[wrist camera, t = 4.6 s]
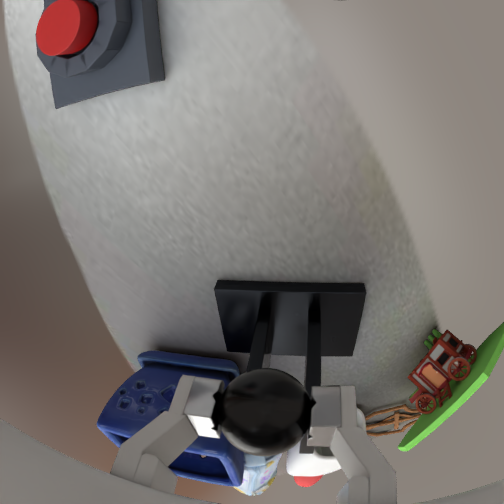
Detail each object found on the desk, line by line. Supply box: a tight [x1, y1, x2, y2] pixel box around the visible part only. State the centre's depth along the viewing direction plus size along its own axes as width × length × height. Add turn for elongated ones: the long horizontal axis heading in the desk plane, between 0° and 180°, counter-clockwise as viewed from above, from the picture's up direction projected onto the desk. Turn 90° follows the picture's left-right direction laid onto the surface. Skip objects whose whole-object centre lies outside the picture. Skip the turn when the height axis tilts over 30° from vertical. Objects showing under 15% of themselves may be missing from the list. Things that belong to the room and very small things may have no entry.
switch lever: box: [218, 368, 312, 456], centre depth 14 cm, size 14×3×3 cm, turn 4°
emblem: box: [365, 404, 425, 436], centre depth 36 cm, size 12×10×1 cm
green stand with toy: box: [398, 322, 504, 451], centre depth 25 cm, size 15×15×6 cm
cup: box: [286, 408, 366, 476], centre depth 36 cm, size 7×7×15 cm
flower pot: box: [97, 351, 244, 487], centre depth 30 cm, size 13×13×12 cm
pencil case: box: [233, 452, 282, 496], centre depth 37 cm, size 21×9×10 cm, turn 179°
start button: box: [36, 0, 98, 56], centre depth 12 cm, size 4×4×2 cm
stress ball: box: [294, 475, 323, 487], centre depth 47 cm, size 5×9×6 cm
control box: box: [36, 0, 165, 109], centre depth 14 cm, size 10×8×4 cm
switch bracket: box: [214, 280, 366, 454], centre depth 22 cm, size 8×12×12 cm, turn 94°
